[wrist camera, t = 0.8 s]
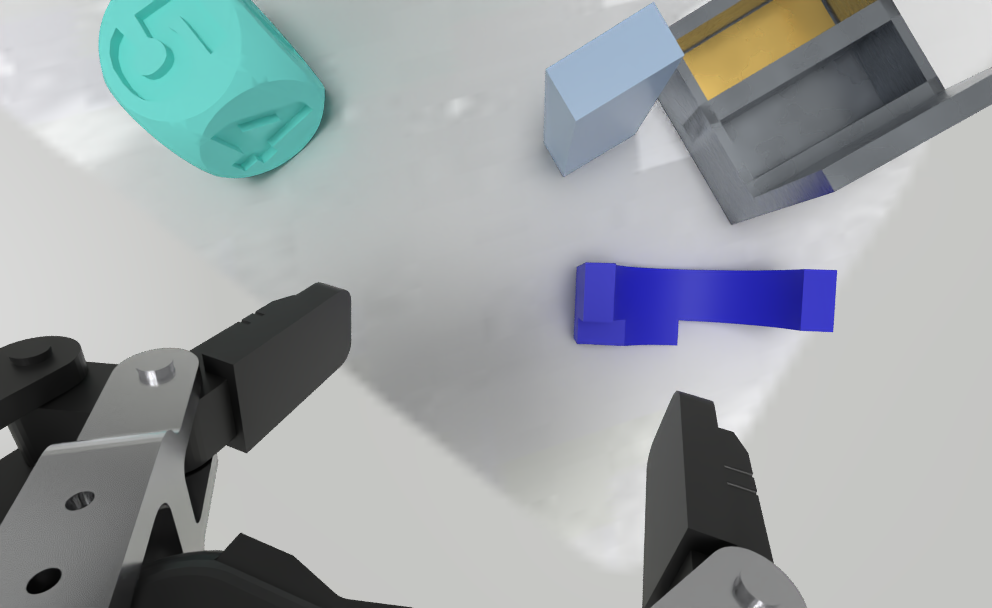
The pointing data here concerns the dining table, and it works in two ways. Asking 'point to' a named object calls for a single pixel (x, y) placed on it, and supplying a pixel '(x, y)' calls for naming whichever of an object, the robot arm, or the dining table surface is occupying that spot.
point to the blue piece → (695, 301)
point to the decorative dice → (211, 82)
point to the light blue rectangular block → (607, 88)
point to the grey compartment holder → (804, 97)
